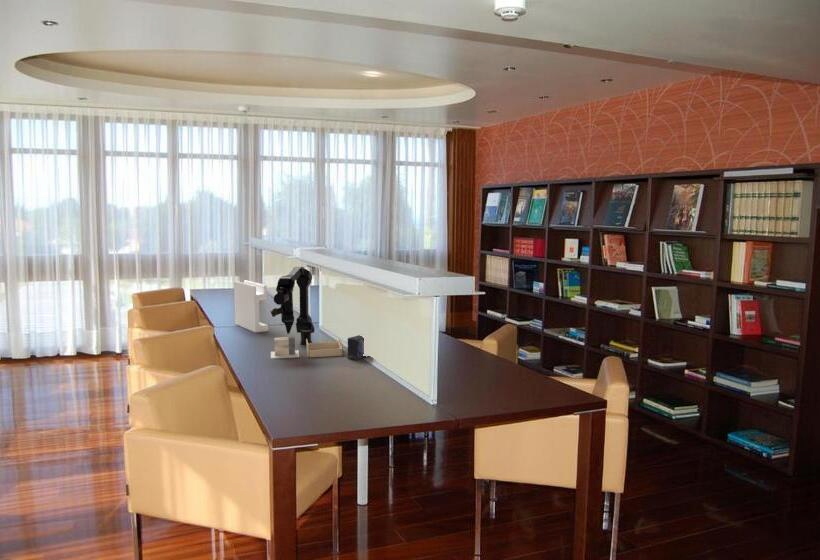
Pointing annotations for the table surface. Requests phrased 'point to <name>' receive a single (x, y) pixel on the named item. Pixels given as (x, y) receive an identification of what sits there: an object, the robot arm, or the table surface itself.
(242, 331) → the table surface
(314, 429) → the table surface
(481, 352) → the table surface
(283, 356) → the white square tile
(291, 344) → the block
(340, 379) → the table surface
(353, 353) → the small box
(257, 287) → the block
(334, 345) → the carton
